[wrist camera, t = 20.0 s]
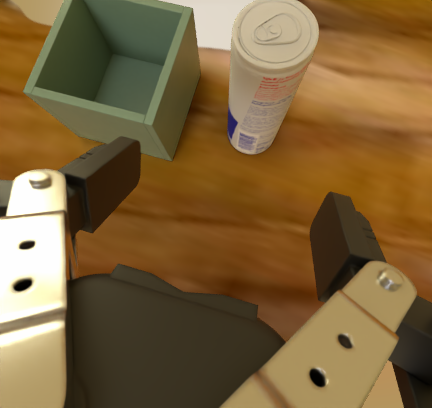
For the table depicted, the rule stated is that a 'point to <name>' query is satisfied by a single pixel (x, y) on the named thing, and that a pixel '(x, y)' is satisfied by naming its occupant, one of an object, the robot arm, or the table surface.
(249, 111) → the beverage can
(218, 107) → the table surface
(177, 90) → the crate
